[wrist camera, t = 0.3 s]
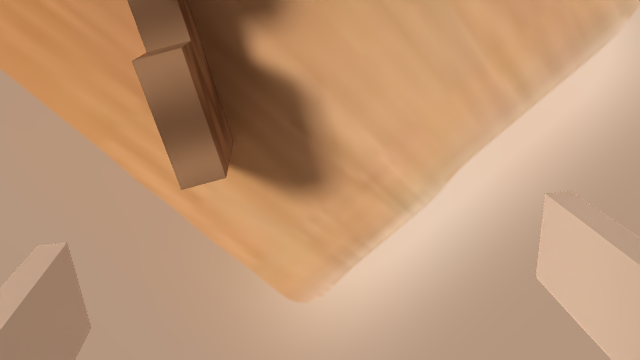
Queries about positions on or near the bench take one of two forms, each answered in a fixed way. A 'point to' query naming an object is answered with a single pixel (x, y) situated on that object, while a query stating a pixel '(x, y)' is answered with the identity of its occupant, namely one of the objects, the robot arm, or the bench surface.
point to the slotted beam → (181, 92)
